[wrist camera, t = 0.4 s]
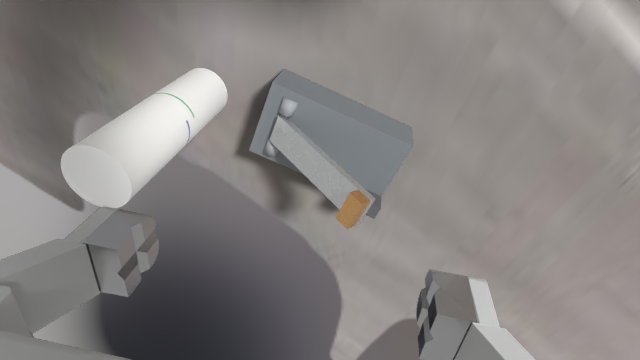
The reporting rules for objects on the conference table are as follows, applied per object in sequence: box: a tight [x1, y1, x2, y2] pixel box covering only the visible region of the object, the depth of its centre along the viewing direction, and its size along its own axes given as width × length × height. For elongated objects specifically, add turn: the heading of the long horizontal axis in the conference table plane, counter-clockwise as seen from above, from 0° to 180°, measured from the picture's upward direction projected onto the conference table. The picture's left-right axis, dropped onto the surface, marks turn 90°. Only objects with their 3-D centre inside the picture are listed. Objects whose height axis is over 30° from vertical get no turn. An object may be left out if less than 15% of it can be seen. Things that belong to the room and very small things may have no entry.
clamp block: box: [249, 69, 413, 218], centre depth 54 cm, size 11×20×9 cm, turn 68°
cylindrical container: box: [61, 68, 227, 208], centre depth 47 cm, size 7×7×25 cm
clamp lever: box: [269, 115, 375, 229], centre depth 47 cm, size 4×17×3 cm
